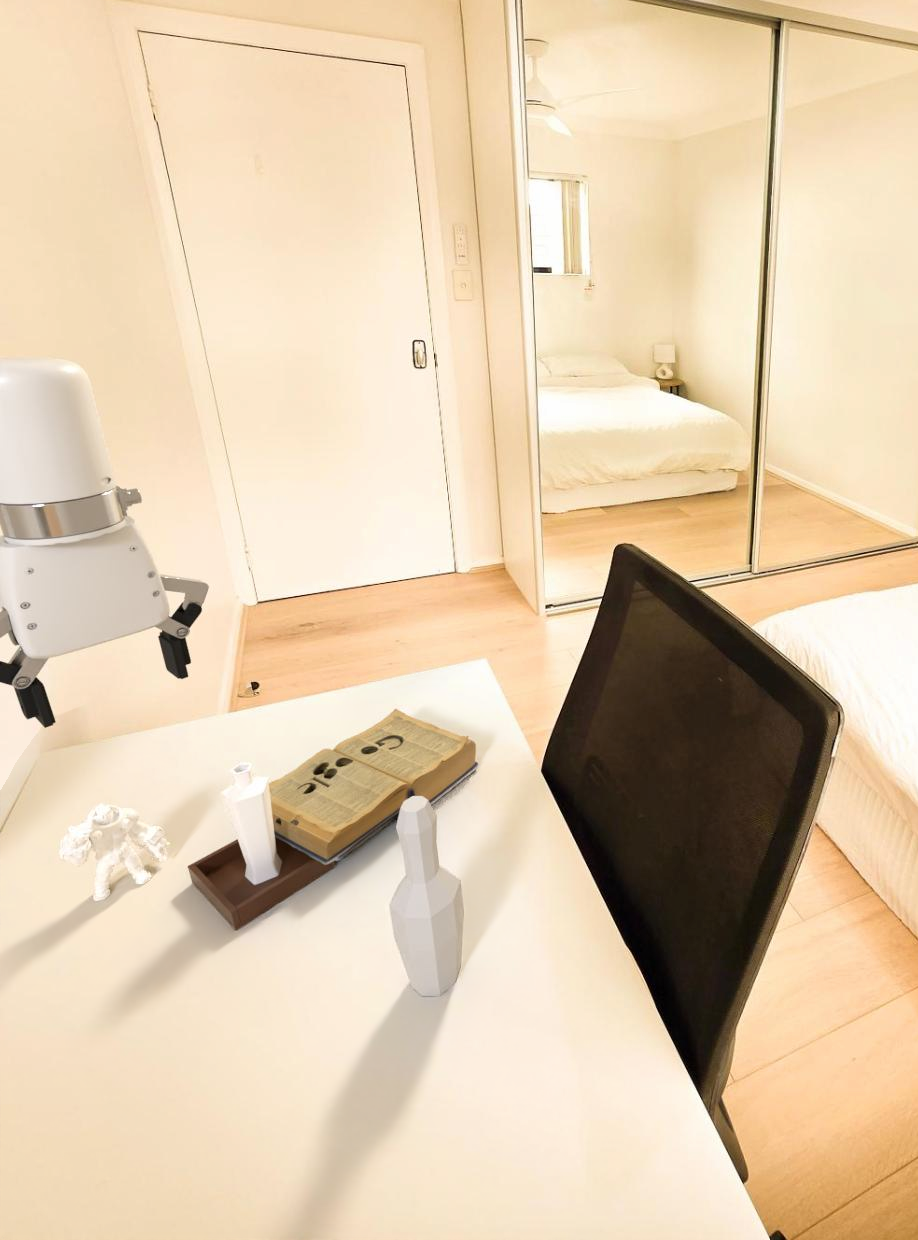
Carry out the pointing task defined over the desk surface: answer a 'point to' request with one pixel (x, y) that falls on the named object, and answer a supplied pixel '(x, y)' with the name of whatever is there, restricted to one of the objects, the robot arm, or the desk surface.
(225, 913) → the tray
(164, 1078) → the desk surface
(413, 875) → the low poly bottle
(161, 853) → the figurine
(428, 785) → the book
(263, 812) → the white faceted vase
